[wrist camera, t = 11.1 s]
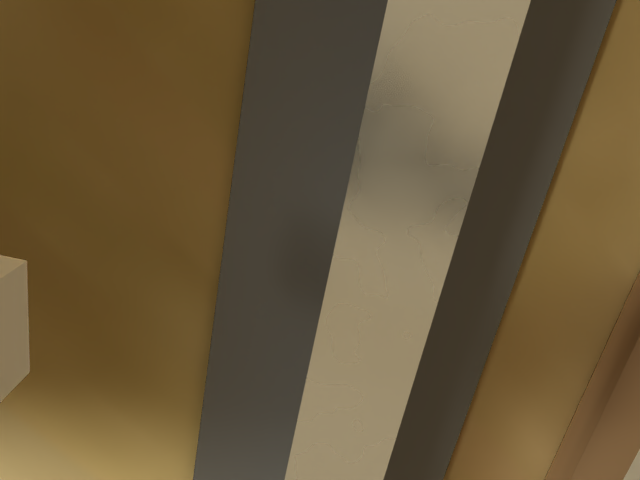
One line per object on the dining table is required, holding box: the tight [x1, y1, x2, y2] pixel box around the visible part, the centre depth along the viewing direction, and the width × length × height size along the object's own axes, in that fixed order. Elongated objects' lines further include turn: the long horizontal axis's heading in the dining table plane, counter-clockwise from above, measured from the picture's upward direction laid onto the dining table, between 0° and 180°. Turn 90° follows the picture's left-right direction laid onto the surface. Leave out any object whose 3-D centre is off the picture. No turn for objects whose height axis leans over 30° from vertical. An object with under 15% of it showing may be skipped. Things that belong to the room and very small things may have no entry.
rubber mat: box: [193, 0, 617, 480], centre depth 19 cm, size 10×34×1 cm, turn 169°
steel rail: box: [285, 0, 531, 480], centre depth 16 cm, size 3×28×4 cm, turn 169°
